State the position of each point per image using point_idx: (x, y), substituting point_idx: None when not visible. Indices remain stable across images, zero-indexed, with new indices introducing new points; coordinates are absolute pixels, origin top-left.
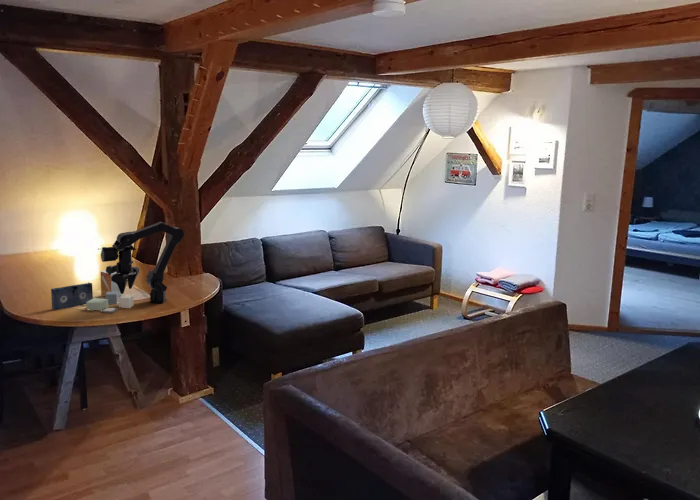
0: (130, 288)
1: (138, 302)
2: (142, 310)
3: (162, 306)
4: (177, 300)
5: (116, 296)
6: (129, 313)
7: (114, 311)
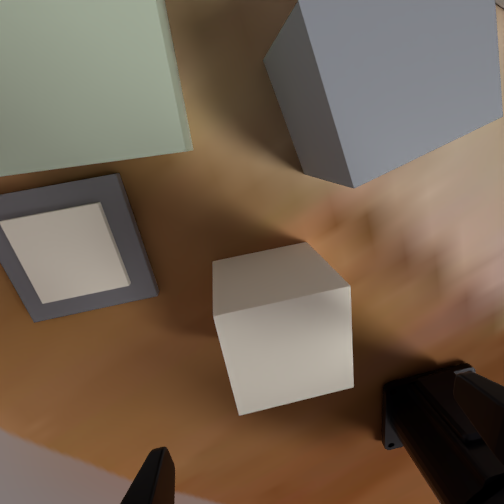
0: (456, 393)
1: (383, 312)
2: (213, 434)
3: (329, 467)
4: None
5: (338, 183)
6: (112, 412)
7: (71, 312)
